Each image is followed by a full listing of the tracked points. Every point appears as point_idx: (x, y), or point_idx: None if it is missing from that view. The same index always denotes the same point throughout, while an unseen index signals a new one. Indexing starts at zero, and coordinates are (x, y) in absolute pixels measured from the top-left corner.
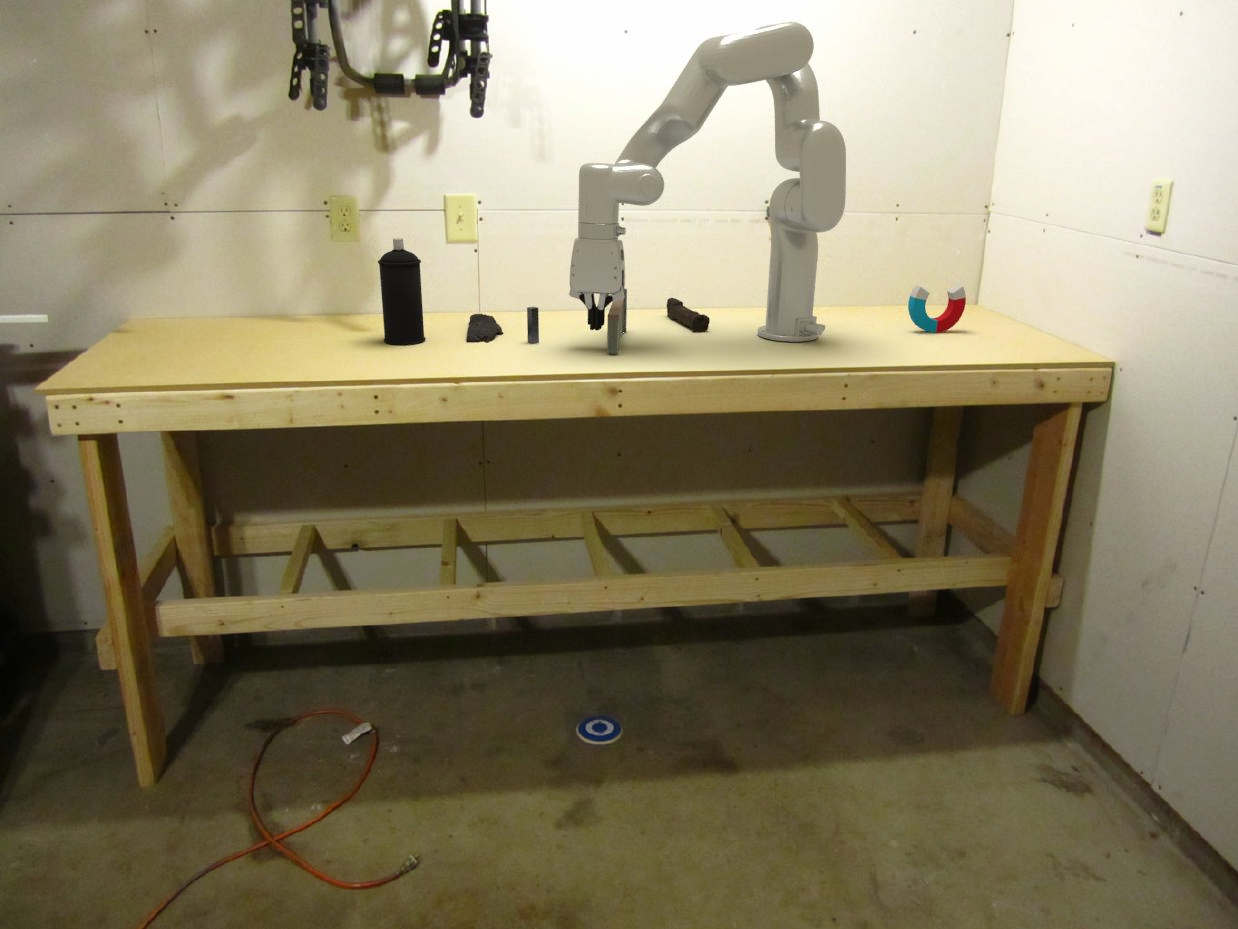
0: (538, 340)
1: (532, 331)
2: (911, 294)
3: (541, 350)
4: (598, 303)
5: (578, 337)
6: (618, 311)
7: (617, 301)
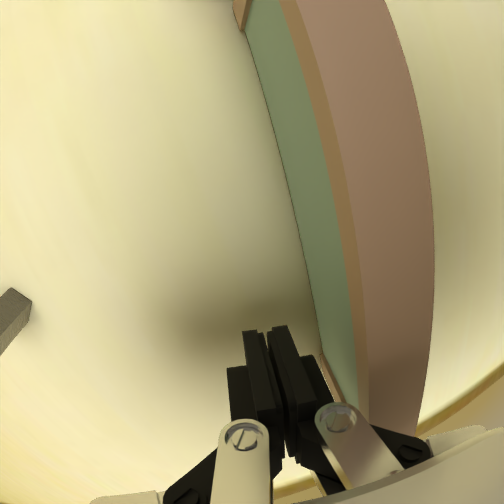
0: (28, 307)
1: (8, 343)
2: None
3: (103, 386)
4: (320, 486)
5: (101, 145)
6: (416, 404)
7: (355, 38)
